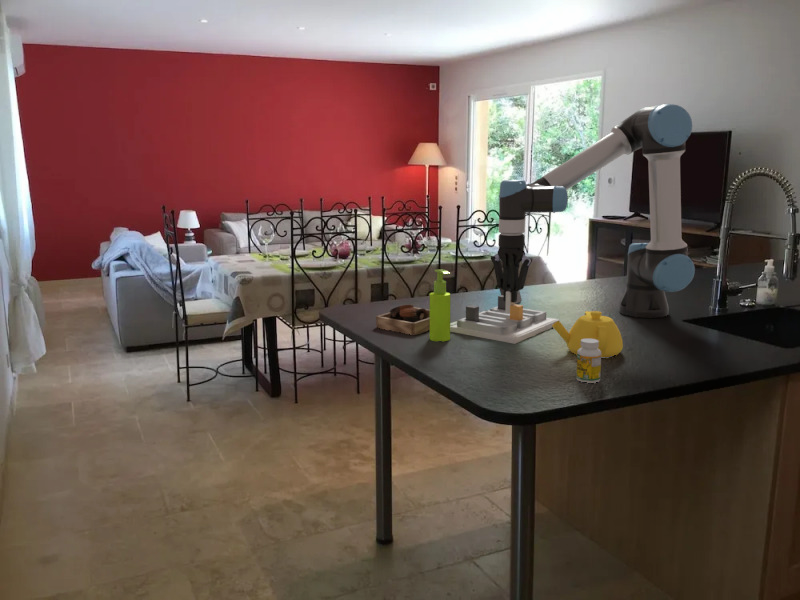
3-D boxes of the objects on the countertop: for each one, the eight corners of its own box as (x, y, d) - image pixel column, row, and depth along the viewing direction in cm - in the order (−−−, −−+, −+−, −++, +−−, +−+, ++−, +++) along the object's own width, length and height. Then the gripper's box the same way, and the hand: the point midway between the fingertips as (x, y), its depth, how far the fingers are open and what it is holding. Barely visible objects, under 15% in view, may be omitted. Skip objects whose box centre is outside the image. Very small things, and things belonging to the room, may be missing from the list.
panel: (559, 324, 212) (559, 313, 211) (514, 343, 191) (514, 331, 190) (492, 313, 226) (492, 302, 226) (444, 330, 206) (444, 318, 205)
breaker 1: (479, 325, 205) (479, 306, 204) (473, 327, 203) (473, 308, 202) (470, 323, 207) (470, 304, 206) (465, 325, 205) (465, 306, 203)
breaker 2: (510, 314, 219) (510, 296, 217) (505, 315, 216) (505, 297, 215) (502, 312, 220) (502, 294, 219) (497, 314, 218) (497, 296, 217)
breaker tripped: (523, 324, 206) (523, 305, 205) (518, 326, 204) (518, 307, 202) (514, 322, 208) (514, 303, 206) (509, 324, 205) (509, 305, 204)
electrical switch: (513, 306, 236) (511, 280, 234) (498, 306, 238) (497, 280, 237) (522, 301, 244) (520, 275, 242) (508, 301, 246) (506, 275, 245)
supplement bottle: (604, 382, 159) (607, 342, 157) (586, 385, 157) (588, 344, 155) (589, 375, 164) (591, 336, 162) (571, 378, 162) (573, 339, 160)
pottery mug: (391, 334, 204) (385, 308, 206) (395, 340, 213) (389, 315, 216) (431, 324, 204) (424, 297, 206) (433, 330, 213) (426, 305, 215)
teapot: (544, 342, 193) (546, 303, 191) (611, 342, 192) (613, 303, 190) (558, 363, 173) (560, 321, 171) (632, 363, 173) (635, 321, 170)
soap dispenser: (438, 343, 192) (438, 272, 188) (425, 337, 198) (425, 269, 194) (456, 340, 195) (456, 270, 191) (443, 335, 201) (443, 267, 197)
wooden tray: (448, 323, 214) (448, 312, 213) (414, 335, 201) (414, 323, 200) (410, 317, 223) (409, 306, 222) (375, 327, 210) (375, 316, 209)
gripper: (537, 233, 200) (535, 313, 205) (499, 230, 208) (497, 307, 213) (525, 236, 194) (522, 318, 199) (485, 233, 203) (484, 311, 208)
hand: (509, 312), depth 206 cm, fingers closed
